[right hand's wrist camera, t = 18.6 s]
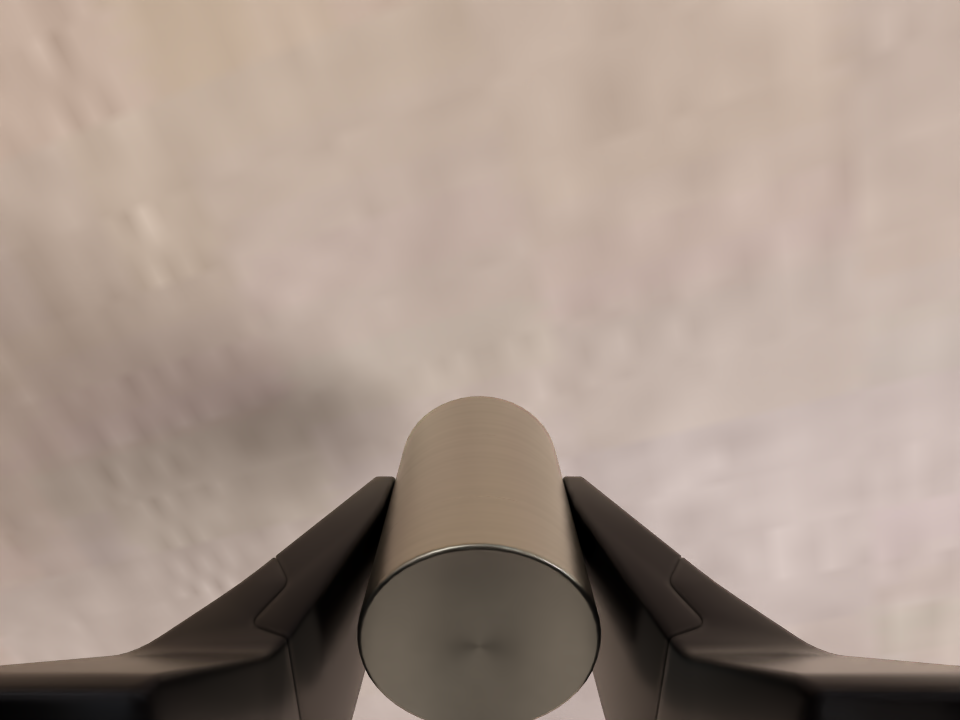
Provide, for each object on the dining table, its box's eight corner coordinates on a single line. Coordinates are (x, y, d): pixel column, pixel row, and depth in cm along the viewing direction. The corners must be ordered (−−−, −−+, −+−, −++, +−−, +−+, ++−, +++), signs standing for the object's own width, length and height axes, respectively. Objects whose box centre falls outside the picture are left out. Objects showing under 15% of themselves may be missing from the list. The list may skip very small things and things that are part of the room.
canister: (401, 392, 12) (348, 541, 7) (561, 396, 12) (616, 548, 7) (403, 527, 13) (361, 730, 8) (550, 530, 13) (589, 734, 8)
